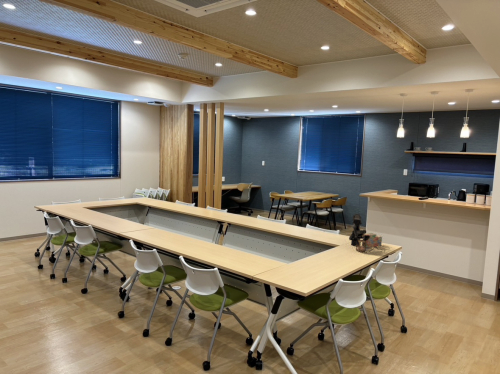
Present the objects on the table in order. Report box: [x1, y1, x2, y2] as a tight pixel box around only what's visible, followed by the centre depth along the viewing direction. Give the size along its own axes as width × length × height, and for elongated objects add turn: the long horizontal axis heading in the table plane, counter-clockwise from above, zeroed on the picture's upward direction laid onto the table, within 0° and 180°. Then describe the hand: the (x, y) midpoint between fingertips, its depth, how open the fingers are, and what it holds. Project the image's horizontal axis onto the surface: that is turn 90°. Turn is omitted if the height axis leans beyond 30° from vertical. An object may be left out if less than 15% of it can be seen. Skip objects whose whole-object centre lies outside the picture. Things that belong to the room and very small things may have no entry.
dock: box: [363, 246, 374, 252], centre depth 331 cm, size 9×12×2 cm
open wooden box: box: [355, 239, 367, 253], centre depth 322 cm, size 6×6×11 cm
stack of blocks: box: [363, 232, 383, 248], centre depth 349 cm, size 21×6×12 cm, turn 121°
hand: (361, 245), depth 321 cm, fingers closed on open wooden box, 6 cm apart
